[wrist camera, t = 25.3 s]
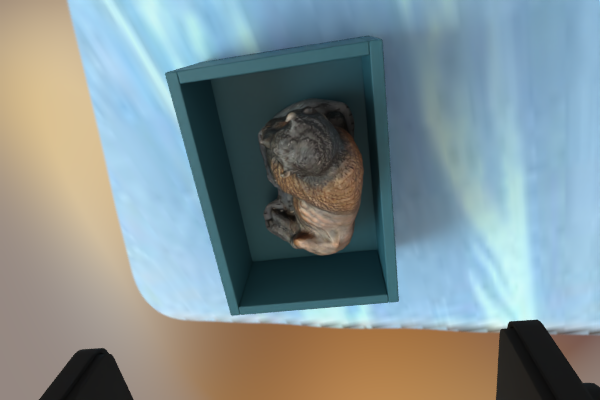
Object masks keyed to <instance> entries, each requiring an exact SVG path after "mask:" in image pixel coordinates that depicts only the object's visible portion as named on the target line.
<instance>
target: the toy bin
mask: <svg viewBox="0 0 600 400" xmlns="http://www.w3.org/2000/svg"><path fill="white" fill-rule="evenodd" d="M165 75H166V79H167V83H168V86H169V90H170V94H171V97H172V101H173V105H174V108H175V112H176V116H177V119H178V123H179V127H180V130H181V134H182V138H183V141H184V145H185V149H186V152H187V156H188V160H189V163H190V167H191V170H192V174H193V178H194V181H195V185H196V189H197V192H198V196H199V200H200V203H201V207H202V211H203V214H204V218H205V222H206V225H207V229H208V233H209V236H210V240H211V244H212V247H213V251H214V255H215V258H216V262H217V265H218V269H219V273H220V276H221V280H222V284H223V287H224V291H225V295H226V298H227V302H228V306H229V309H230V313H231V315H240V314H241V315H244V314H256V313H268V312H280V311H292V310H304V309H317V308H329V307H341V306H353V305H365V304H377V303H388V301H389V302H398V301H399V297H398V281H397V265H396V249H395V233H394V217H393V202H392V186H391V170H390V154H389V138H388V122H387V106H386V90H385V74H384V58H383V42H382V39H379V38H375V37H371V36H364V37H358V38H351V39H345V40H339V41H332V42H326V43H320V44H313V45H307V46H301V47H295V48H288V49H282V50H276V51H269V52H263V53H257V54H250V55H244V56H238V57H232V58H225V59H219V60H213V61H206V62H200V63H197V64H194V65H190V66H187V67H184V68H180V69H177V70H173V71H170V72H167V73H165ZM309 98H318V99H324V100H335V101H340V102H343V103H345V104H347V105H348V107H349V108H350V111H351V113H352V115H353V118H354V126H355V128H354V141H355V143H356V145H357V146H358V148H359V151H360V153H361V155H362V160H363V168H364V174H363V185H362V194H361V202H360V207H359V211H358V213H357V216H356V218H355V226H354V232H353V235H352V238H351V241H350V243H349V244H348V245H347V246H346V247H345V248H344V249H342V250H340V251H338V252H336V253H333V254H330V255H323V256H322V255H317V254H314V253H312V252H309V251H307V250H305V249H295V248H293V247H292V246H291V244H290V243H289V242H287V241H284V240H282V239H281V238H280V237H278V236H276V235H274V234H273V233H271V232H270V231H269V230H268V229H267V228H266V224H265V219H264V215H263V213H264V210H265V208H266V206H267V205H268V204H269V203H270V202H272V201H274V200H275V199H277V196H278V187H275V186H274V185H273V184H272V183H271V182H270V181H269V180H268V178H267V171H266V168H265V164H264V159H263V156H262V154H261V151H260V146H259V141H258V133H259V131H260V130H261V129H262V128H263V127H264V126H265V124H266V123H267V122H268V121H269V120H271V119H273V117H274V116H275V115H276V114H277V113H279V112H280V111H282V110H283V109H285V108H286V107H288V106H290V105H292V104H294V103H296V102H299V101H302V100H305V99H309Z"/></svg>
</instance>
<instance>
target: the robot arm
mask: <svg viewBox="0 0 600 400" xmlns="http://www.w3.org/2000/svg"><path fill="white" fill-rule="evenodd" d="M497 375H498V376H497V394H496V400H600V387H599V386H597V385H596V384H594V383H582V381H581V380H580V379H579V377H578V376H577V374H576V373H575V371H574V370H573V368H572V367H571V365H570V364H569V362H568V361H567V359H566V358H565V356H564V355H563V353H562V352H561V350H560V349H559V348H558V346H557V345H556V343H555V342H554V340H553V339H552V337H551V336H550V334H549V333H548V331H547V330H546V328H545V327H544V325H543V324H542V323H541V322H540V321H539V320H526V321H511V322H509V323H508V328H507V329H501V330H500V340H499V357H498V374H497ZM39 400H133V398H132V396H131V393H130V391H129V389H128V387H127V385H126V383H125V381H124V378H123V376H122V374H121V372H120V370H119V368H118V366H117V363H116V361H115V359H114V357H113V356H112V355H111V354H109V353H108V352H107V350H105V349H104V348H98V349H83V350H79V351H78V352H77V353H75V354H74V356H73V357H72V358H71V359H70V361H69V362H68V363H67V364H66V366H65V367H64V368H63V370H62V371H61V372H60V373H59V375H58V376H57V377H56V379H55V380H54V381H53V382H52V384H51V385H50V386H49V388H48V389H47V390H46V392H45V393H44V394H43V395H42V397H41V398H40V399H39Z"/></svg>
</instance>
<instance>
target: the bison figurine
mask: <svg viewBox="0 0 600 400" xmlns="http://www.w3.org/2000/svg"><path fill="white" fill-rule="evenodd" d="M354 128H355V126H354V118H353V115H352V113H351V111H350V108H349V107H348V105H347V104H345V103H343V102H340V101H335V100H324V99H318V98H309V99H305V100H302V101H299V102H296V103H294V104H292V105H290V106H288V107H286V108H285V109H283V110H282V111H280V112H279V113H277V114H276V115H275V116H274V117H273V119H271V120H269V121H268V122H267V123H266V124H265V126H264V127H263V128H262V129H261V130H260V131H259V133H258V141H259V146H260V151H261V154H262V156H263V159H264V164H265V168H266V171H267V178H268V180H269V181H270V182H271V183H272V184H273V185H274V186H275V187H278V196H277V199H275V200H274V201H272V202H270V203H269V204H268V205H267V206H266V208H265V210H264V213H263V215H264V219H265V224H266V228H267V229H268V230H269V231H270V232H271V233H273V234H274V235H276V236H278V237H280V238H281V239H282V240H284V241H287V242H289V243H290V244H291V246H292V247H293V248H295V249H305V250H307V251H309V252H312V253H314V254H317V255H322V256H323V255H330V254H333V253H336V252H338V251H340V250H342V249H344V248H345V247H346V246H347V245H348V244H349V243H350V241H351V238H352V235H353V232H354V226H355V218H356V216H357V213H358V211H359V207H360V202H361V194H362V185H363V174H364V168H363V160H362V155H361V153H360V151H359V148H358V146H357V145H356V143H355V141H354Z"/></svg>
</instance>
